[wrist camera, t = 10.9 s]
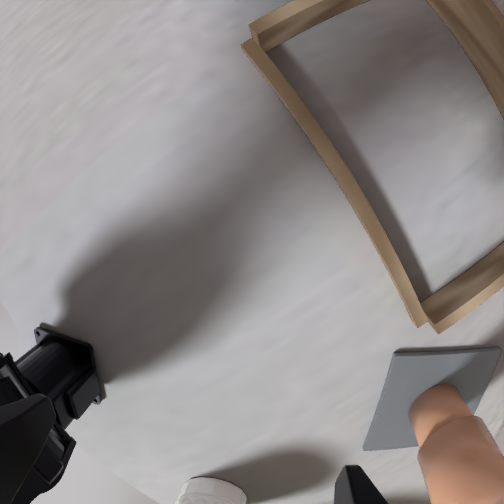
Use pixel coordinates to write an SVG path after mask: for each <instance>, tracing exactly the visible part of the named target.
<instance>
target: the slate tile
mask: <svg viewBox="0 0 504 504" xmlns="http://www.w3.org/2000/svg"><path fill="white" fill-rule="evenodd" d="M501 351H502V349H501V348H500V347H493V348H482V349H469V350H454V351H435V352H402V353H393V357H392V360H391V364H390V367H389V371H388V374H387V378H386V381H385V384H384V388H383V391H382V394H381V397H380V400H379V403H378V406H377V409H376V412H375V415H374V418H373V421H372V423H371V426H370V429H369V432H368V434H367V437H366V440H365V442H364V445H363V451H372V450H386V449H397V448H407V447H415V446H419V445H418V442H417V439H416V436H415V433H414V431H413V428H412V425H411V423H410V420H409V416H408V414H409V409H410V407H411V405H412V403H413V402H414V401H415V399H416V398H417V397H418V396H419V395H420V394H422V393H423V392H424V391H426V390H427V389H429V388H431V387H433V386H436V385H439V384H451V385H454V386H455V387H456V388H457V389H458V391H459V392H460V394H461V395H462V397H463V399H464V400H465V402H466V404H467V405H468V407H469V409H470V410H471V412H472V414H473V415H474V413H475V411H476V409H477V407H478V405H479V403H480V401H481V399H482V396H483V394H484V392H485V390H486V388H487V386H488V383H489V381H490V379H491V376H492V374H493V372H494V369H495V367H496V364H497V362H498V359H499V357H500V354H501Z"/></svg>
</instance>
